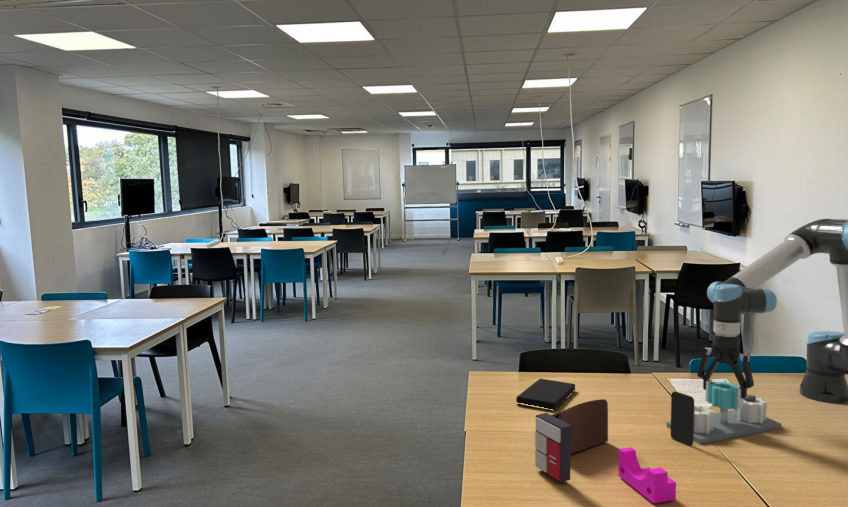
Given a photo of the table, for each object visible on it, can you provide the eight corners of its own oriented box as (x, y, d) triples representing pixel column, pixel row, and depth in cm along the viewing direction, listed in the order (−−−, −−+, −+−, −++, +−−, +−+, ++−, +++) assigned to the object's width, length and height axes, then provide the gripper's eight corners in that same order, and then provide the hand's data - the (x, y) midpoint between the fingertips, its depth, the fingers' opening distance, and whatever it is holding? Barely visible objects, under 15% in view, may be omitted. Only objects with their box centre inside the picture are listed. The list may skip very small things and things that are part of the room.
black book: (516, 404, 214) (516, 396, 214) (539, 385, 234) (539, 378, 234) (554, 411, 207) (554, 403, 207) (575, 391, 226) (575, 383, 226)
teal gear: (724, 397, 194) (724, 379, 193) (747, 407, 185) (748, 388, 185) (701, 401, 191) (702, 383, 190) (724, 411, 182) (725, 392, 182)
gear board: (744, 412, 201) (745, 387, 200) (781, 428, 187) (782, 401, 186) (666, 426, 190) (667, 400, 190) (699, 444, 177) (700, 416, 176)
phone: (670, 438, 182) (671, 390, 180) (671, 437, 182) (672, 390, 181) (691, 447, 176) (693, 397, 174) (693, 446, 176) (695, 397, 174)
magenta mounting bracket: (675, 499, 147) (676, 470, 146) (653, 503, 145) (654, 474, 145) (638, 472, 161) (639, 445, 161) (618, 475, 160) (618, 448, 159)
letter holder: (608, 441, 181) (609, 396, 180) (561, 458, 171) (561, 410, 169) (583, 430, 190) (584, 387, 188) (537, 446, 179) (536, 400, 178)
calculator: (533, 467, 165) (533, 415, 164) (545, 463, 167) (545, 412, 166) (559, 484, 156) (559, 428, 154) (572, 480, 158) (572, 425, 156)
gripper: (686, 330, 191) (684, 398, 194) (759, 342, 175) (756, 416, 178) (697, 326, 196) (695, 392, 199) (768, 337, 180) (765, 409, 182)
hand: (724, 403), depth 188 cm, fingers closed on teal gear, 9 cm apart
